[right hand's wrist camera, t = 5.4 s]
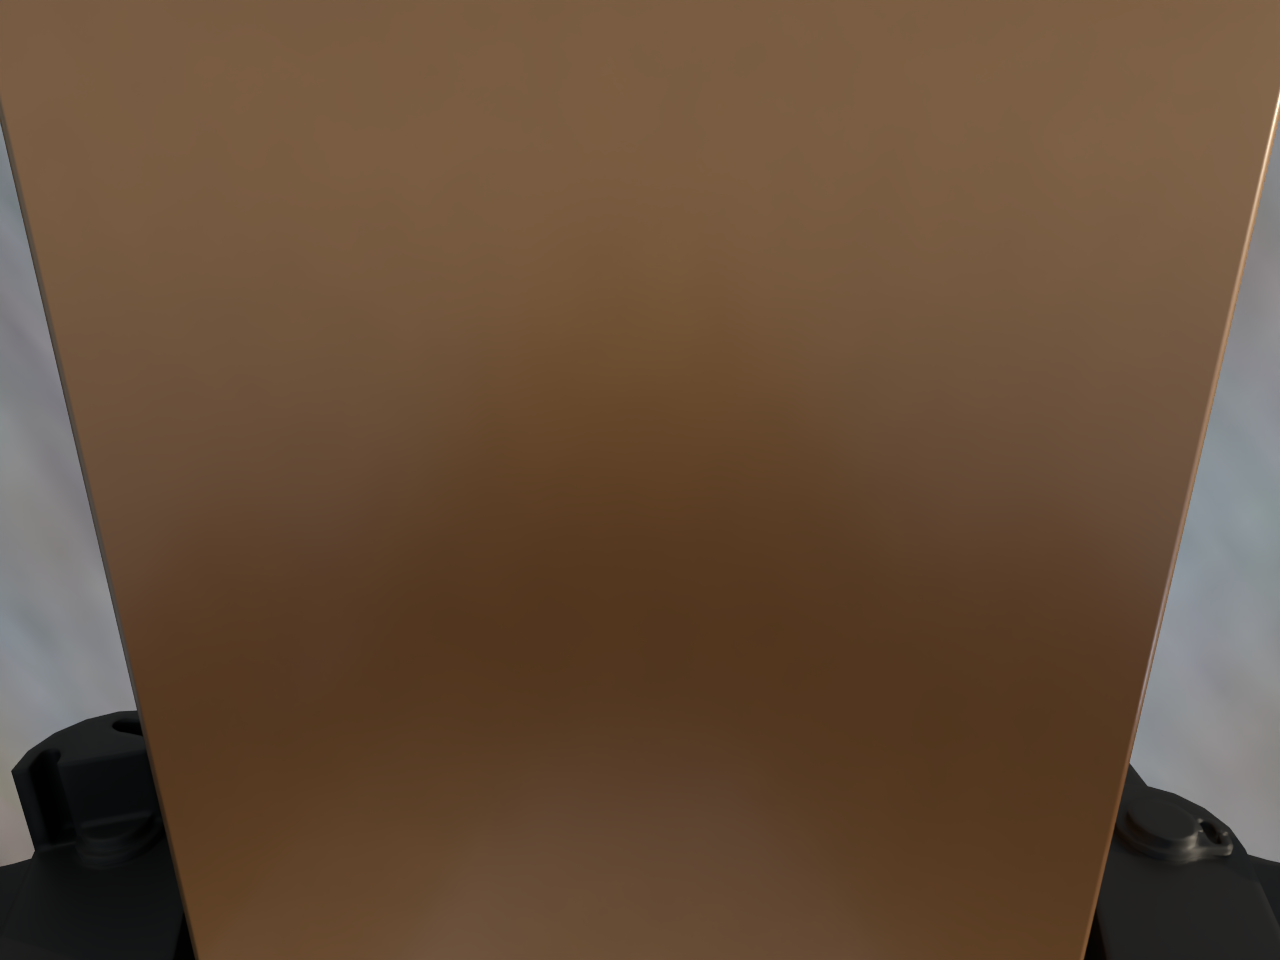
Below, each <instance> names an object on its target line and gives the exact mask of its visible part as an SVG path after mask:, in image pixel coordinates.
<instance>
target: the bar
mask: <svg viewBox="0 0 1280 960" xmlns="http://www.w3.org/2000/svg"><path fill="white" fill-rule="evenodd" d="M1279 116H1280V0H0V123H1V127H2V132H3V136H4V140H5V144H6V149H7V153H8V157H9V162H10V166H11V170H12V175H13V179H14V183H15V187H16V192H17V196H18V200H19V205H20V209H21V213H22V218H23V222H24V226H25V230H26V235H27V239H28V243H29V248H30V252H31V256H32V260H33V265H34V269H35V273H36V278H37V282H38V286H39V291H40V295H41V299H42V303H43V308H44V312H45V316H46V321H47V325H48V329H49V334H50V338H51V342H52V346H53V351H54V355H55V359H56V364H57V368H58V372H59V376H60V381H61V385H62V389H63V394H64V398H65V402H66V407H67V411H68V415H69V419H70V424H71V428H72V432H73V437H74V441H75V445H76V449H77V454H78V458H79V462H80V467H81V471H82V475H83V480H84V484H85V488H86V492H87V497H88V501H89V505H90V510H91V514H92V518H93V523H94V527H95V531H96V535H97V540H98V544H99V548H100V553H101V557H102V561H103V565H104V570H105V574H106V578H107V583H108V587H109V591H110V596H111V600H112V604H113V608H114V613H115V617H116V621H117V626H118V630H119V634H120V639H121V643H122V647H123V651H124V656H125V660H126V664H127V669H128V673H129V677H130V681H131V686H132V690H133V694H134V699H135V703H136V707H137V712H138V716H139V720H140V724H141V729H142V733H143V737H144V742H145V746H146V750H147V755H148V759H149V763H150V767H151V772H152V776H153V780H154V785H155V789H156V793H157V797H158V802H159V806H160V810H161V815H162V819H163V823H164V828H165V832H166V836H167V840H168V845H169V849H170V853H171V858H172V862H173V866H174V871H175V875H176V879H177V883H178V888H179V892H180V896H181V901H182V905H183V909H184V913H185V918H186V922H187V926H188V931H189V935H190V939H191V944H192V948H193V952H194V956H195V960H1084V956H1085V951H1086V947H1087V943H1088V939H1089V934H1090V930H1091V926H1092V921H1093V917H1094V913H1095V908H1096V904H1097V900H1098V895H1099V891H1100V887H1101V883H1102V878H1103V874H1104V870H1105V865H1106V861H1107V857H1108V852H1109V848H1110V844H1111V839H1112V835H1113V831H1114V827H1115V822H1116V818H1117V814H1118V809H1119V805H1120V801H1121V796H1122V792H1123V788H1124V783H1125V779H1126V775H1127V771H1128V766H1129V762H1130V758H1131V753H1132V749H1133V745H1134V740H1135V736H1136V732H1137V728H1138V723H1139V719H1140V715H1141V710H1142V706H1143V702H1144V697H1145V693H1146V689H1147V684H1148V680H1149V676H1150V672H1151V667H1152V663H1153V659H1154V654H1155V650H1156V646H1157V641H1158V637H1159V633H1160V628H1161V624H1162V620H1163V616H1164V611H1165V607H1166V603H1167V598H1168V594H1169V590H1170V585H1171V581H1172V577H1173V572H1174V568H1175V564H1176V560H1177V555H1178V551H1179V547H1180V542H1181V538H1182V534H1183V529H1184V525H1185V521H1186V517H1187V512H1188V508H1189V504H1190V499H1191V495H1192V491H1193V486H1194V482H1195V478H1196V473H1197V469H1198V465H1199V461H1200V456H1201V452H1202V448H1203V443H1204V439H1205V435H1206V430H1207V426H1208V422H1209V417H1210V413H1211V409H1212V405H1213V400H1214V396H1215V392H1216V387H1217V383H1218V379H1219V374H1220V370H1221V366H1222V362H1223V357H1224V353H1225V349H1226V344H1227V340H1228V336H1229V331H1230V327H1231V323H1232V318H1233V314H1234V310H1235V306H1236V301H1237V297H1238V293H1239V288H1240V284H1241V280H1242V275H1243V271H1244V267H1245V262H1246V258H1247V254H1248V250H1249V245H1250V241H1251V237H1252V232H1253V228H1254V224H1255V219H1256V215H1257V211H1258V206H1259V202H1260V198H1261V194H1262V189H1263V185H1264V181H1265V176H1266V172H1267V168H1268V163H1269V159H1270V155H1271V151H1272V146H1273V142H1274V138H1275V133H1276V129H1277V125H1278V120H1279Z"/></svg>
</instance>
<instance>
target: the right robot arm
mask: <svg viewBox="0 0 1280 960" xmlns="http://www.w3.org/2000/svg"><path fill="white" fill-rule="evenodd" d="M11 772H12V775H13V779H14V782H15V785H16V789H17V792H18V795H19V799H20V802H21V805H22V809H23V812H24V815H25V819H26V822H27V825H28V829H29V832H30V835H31V839H32V842H33V845H34V849H35V852H34V854H33V856H32V858H31V859H28V860H25V861H21V862H18V863H14V864H10V865H6V866H1V867H0V960H195V956H194V952H193V948H192V944H191V939H190V935H189V931H188V926H187V922H186V918H185V913H184V909H183V905H182V901H181V896H180V892H179V888H178V883H177V879H176V875H175V871H174V866H173V862H172V858H171V853H170V849H169V845H168V840H167V836H166V832H165V828H164V823H163V819H162V815H161V810H160V806H159V802H158V797H157V793H156V789H155V785H154V780H153V776H152V772H151V767H150V763H149V759H148V755H147V750H146V746H145V742H144V737H143V733H142V729H141V724H140V720H139V716H138V712H137V711H120V712H115V713H111V714H107V715H103V716H99V717H95V718H90V719H86V720H84V721H82V722H79V723H77V724H75V725H72V726H70V727H68V728H65V729H63V730H61V731H58V732H56V733H54V734H53V735H51V736H50V737H48V738H47V739H45V740H44V741H42V742H41V743H39V744H38V745H36V746H35V747H33V748H32V749H30V750H29V751H28V752H27V753H26V754H25V755H24V756H23V758H22V759H21V760H20V761H19V762H18V764H17V765H16V766H15V767H14V768H13V769H12V771H11ZM1084 960H1280V863H1278V862H1274V861H1269V860H1266V859H1262V858H1259V857H1255V856H1252V855H1248V854H1247V852H1246V850H1245V848H1244V847H1243V846H1242V844H1241V843H1240V841H1239V840H1238V839H1237V837H1236V836H1235V834H1234V833H1233V832H1232V830H1231V829H1230V828H1229V827H1228V826H1227V825H1225V824H1224V823H1223V822H1222V821H1220V820H1219V819H1218V818H1216V817H1215V816H1214V815H1213V814H1211V813H1210V812H1209V811H1207V810H1206V809H1205V808H1203V807H1201V806H1199V805H1197V804H1195V803H1193V802H1191V801H1189V800H1187V799H1184V798H1182V797H1180V796H1178V795H1176V794H1174V793H1170V792H1167V791H1163V790H1160V789H1156V788H1152V787H1149V786H1147V785H1146V784H1145V782H1144V781H1143V780H1142V779H1141V777H1140V776H1139V775H1138V773H1137V772H1136V771H1135V770H1134V768H1133V767H1132V766H1131V764H1130V763H1129V766H1128V771H1127V775H1126V779H1125V783H1124V788H1123V792H1122V796H1121V801H1120V805H1119V809H1118V814H1117V818H1116V822H1115V827H1114V831H1113V835H1112V839H1111V844H1110V848H1109V852H1108V857H1107V861H1106V865H1105V870H1104V874H1103V878H1102V883H1101V887H1100V891H1099V895H1098V900H1097V904H1096V908H1095V913H1094V917H1093V921H1092V926H1091V930H1090V934H1089V939H1088V943H1087V947H1086V951H1085V956H1084Z"/></svg>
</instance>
